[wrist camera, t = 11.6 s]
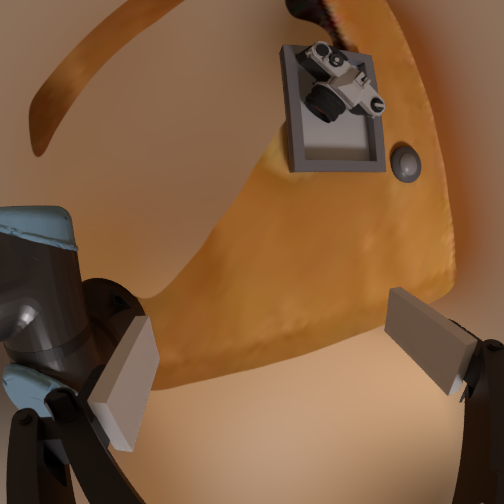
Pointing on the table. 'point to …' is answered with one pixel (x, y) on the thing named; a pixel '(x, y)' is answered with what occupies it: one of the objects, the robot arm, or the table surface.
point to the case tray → (329, 124)
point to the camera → (337, 85)
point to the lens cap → (406, 164)
